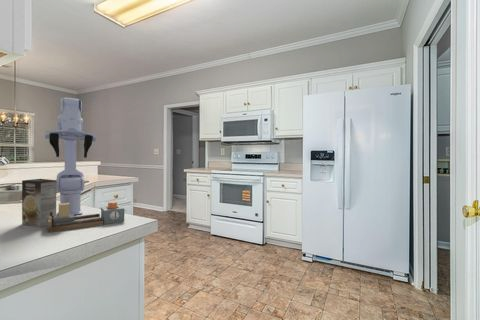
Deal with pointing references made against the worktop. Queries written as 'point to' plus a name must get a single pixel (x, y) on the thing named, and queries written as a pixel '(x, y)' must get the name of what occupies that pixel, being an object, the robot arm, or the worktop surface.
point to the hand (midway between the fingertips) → (72, 155)
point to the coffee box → (38, 201)
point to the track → (75, 223)
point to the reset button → (112, 205)
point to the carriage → (63, 214)
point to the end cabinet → (112, 214)
